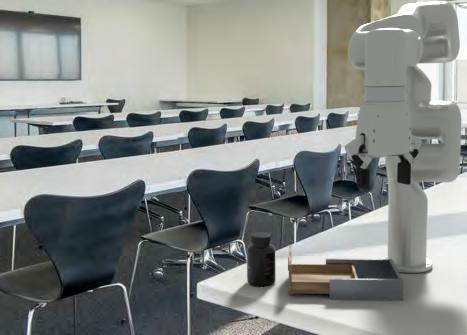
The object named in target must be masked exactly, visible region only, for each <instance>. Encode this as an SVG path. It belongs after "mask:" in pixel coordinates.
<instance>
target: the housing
mask: <svg viewBox="0 0 467 335" xmlns="http://www.w3.org/2000/svg"><path fill="white" fill-rule="evenodd" d="M325 264H339V265H354V268H355V271H356V274H357V277H358V279H357V278H329V294H328V298H329V300H331V301H332V300H333V301H334V300H338V301H339V300H341V301H345V300H346V301H399V302H400V301H402V302H403V301H404V288H405V285H404V284H405V283H404V282H405V280H404V279H403V276H402V274H401V272H399V271H398V269H397V267H396V265H395V264H394V262H393V260H392V259H382V258H328V257H327V258H325Z"/></svg>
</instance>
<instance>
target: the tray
mask: <svg viewBox="0 0 467 335" xmlns="http://www.w3.org/2000/svg"><path fill="white" fill-rule="evenodd" d="M292 257H293V256H292V244H288V257H287V271H288V295H289V296H293V295H292V294H327V295H329V278H357V279H358V277H357V274H356V271H355V268H354V265H339V264H326V263H325V264H324V263H323V264H321V263H318V264H316V263H315V264H314V263H306V264H305V263H301V264H300V263H292V261H293V258H292Z"/></svg>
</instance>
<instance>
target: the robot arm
mask: <svg viewBox="0 0 467 335" xmlns="http://www.w3.org/2000/svg"><path fill="white" fill-rule="evenodd" d="M459 30H460V29H459V20H458V15H457V12H456V9H455V8H454V6H453V4H452V3H450V2H448V1H443V0H442V1H429V2H416V3H415V2H414V3H406V4H403V5H401V6H399V7H398V8H396V10H395V11H394V12H393V13H392V14H391V16H388V17H385V18H384V17H383V18H381V19H379V20H376V21H372V22H369V23H366V24H363V25H361V26H359V27H358V28H356V30H355V31H354V32H353V34H352V35H351V37H350V39H349V43H348V45H347V57H348V61H349V63H350V65H351V66H352V67H353V69H356V70H360V71H362V70H363V71H364V103H363V104H360V106H359V110H358V116H357V122H356V129H355V138H354V139H352V140H351V141H349V142H348V143H347V144H345V145H344V150H345V153H346V155H347V157H348V158H347V159H348V160H349V161H350V162H351V163H352V166H353V168H356V169H355V171H356V172H355V183H356V188H358V189H360V190H364V191H369V190H370V181H371V179H370V178H371V177H370V176H371V174H370V173H371V171H370V168H369V167H368V166H369V164H370V163H371V162H372V161H373V159H379V158H385V161H384V162H385V170H386V177H387V186H388V187H387V188H388V189H387V190H388V204H387V206H388V212H387V216H388V217H387V218H388V219H387V255H386V256H383V257H382V258H381V259H392V260H393V262H394V264H395V265H396V267H397V269H398V271H399V273H404V274H408V273H409V274H418V273H419V274H420V273H424V272H428V271H430V270H432V268H433V261H432V260H431V259H429V258H427V249H428V247H427V245H428V244H427V243H428V241H427V240H428V208H429V207H428V206H429V204H428V203H429V202H428V197H427V194H426V192H425V190H423V188H422V187H421V186H420V185H419V183H424V182H426V183H444V184H445V183H452V182H455V181H456V180H457V178H458V176H459V173H460V168H461V167H460V166H461V165H460V164H461V146H462V113H461V109H460V107H459V105H458V104H457V103H455V102H454V101H448V100H447V101H446V100H434V101H433V100H431V99H432V82H431V80H430V78H429V77H428V75H427V74H426V73H425V72H424V71H423V70H422V69H421V68H420V67H418V64H443V63H451V62H453V61H454V60H456V59H457V57H458V56H459V53H460V44H461V41H460V32H459ZM422 140H438V141H439V142H440V143H430V142H429V143H428V142H427V143H424V142H423V141H422Z"/></svg>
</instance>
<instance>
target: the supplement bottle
mask: <svg viewBox="0 0 467 335" xmlns="http://www.w3.org/2000/svg"><path fill="white" fill-rule="evenodd" d="M250 243H251V244H249V245H248V246H247V249H246V278H247V284H248V285H250V286H251V287H255V288H269V287H272V286H273V285H275V283H276V277H277V276H276V272H277V271H276V267H277V266H276V248H275V246H274V245H273V244H271V243H272V235H271V233H269V232H265V231H264V232H263V231H259V232H258V231H257V232H252V233H251V234H250Z"/></svg>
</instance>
